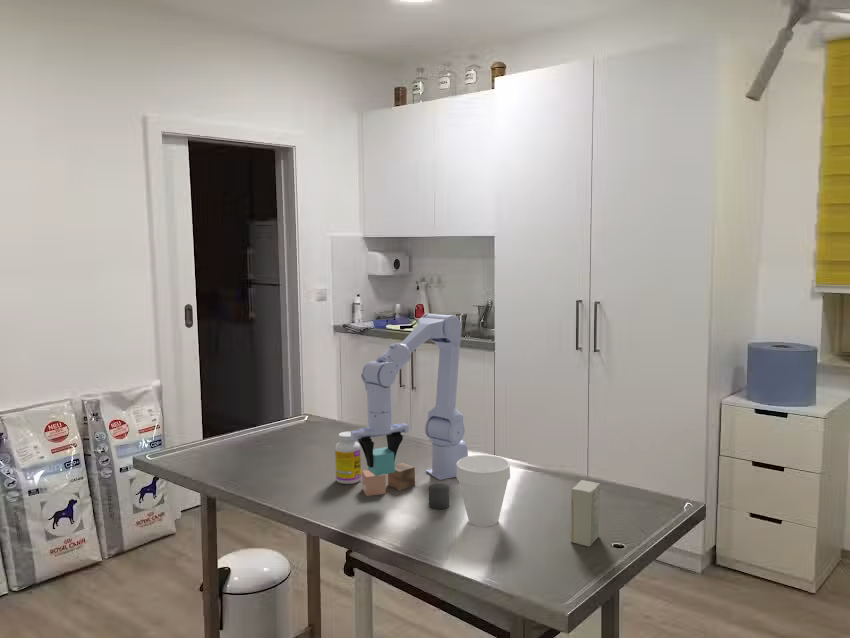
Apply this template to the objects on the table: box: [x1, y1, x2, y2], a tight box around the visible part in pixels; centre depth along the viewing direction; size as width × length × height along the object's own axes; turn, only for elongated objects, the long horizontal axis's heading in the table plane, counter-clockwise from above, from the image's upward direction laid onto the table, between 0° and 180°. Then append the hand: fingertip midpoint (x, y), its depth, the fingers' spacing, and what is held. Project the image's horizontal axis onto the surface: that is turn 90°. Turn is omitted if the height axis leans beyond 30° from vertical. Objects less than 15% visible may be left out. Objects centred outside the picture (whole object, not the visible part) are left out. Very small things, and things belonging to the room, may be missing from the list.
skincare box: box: [570, 479, 601, 547], centre depth 154 cm, size 6×4×12 cm
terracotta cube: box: [361, 469, 387, 497], centre depth 185 cm, size 5×5×5 cm
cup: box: [455, 454, 511, 528], centre depth 165 cm, size 12×12×14 cm
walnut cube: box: [387, 462, 416, 491], centre depth 189 cm, size 5×5×5 cm
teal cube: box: [367, 446, 396, 476], centre depth 177 cm, size 5×5×5 cm
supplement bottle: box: [334, 431, 362, 485], centre depth 193 cm, size 7×7×13 cm
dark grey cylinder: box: [427, 482, 450, 511], centre depth 175 cm, size 5×5×5 cm
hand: (380, 464), depth 177 cm, fingers closed on teal cube, 5 cm apart
